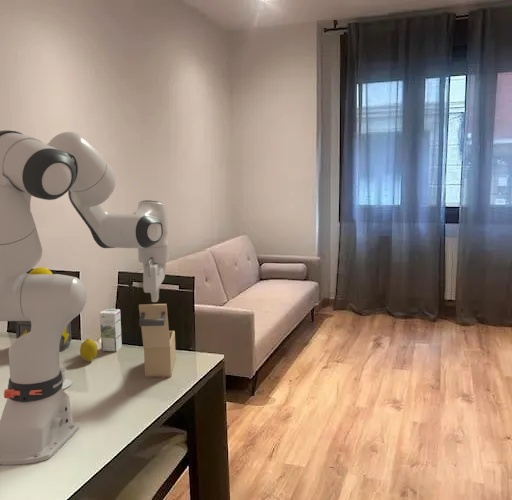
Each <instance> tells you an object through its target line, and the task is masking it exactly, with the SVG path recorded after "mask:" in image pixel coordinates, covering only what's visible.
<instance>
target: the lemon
mask: <svg viewBox="0 0 512 500" xmlns="http://www.w3.org/2000/svg"><path fill="white" fill-rule="evenodd" d="M79 349H80V350H79V352H80V356H81V358H82V359H83V360H85V361H87V362H91V361H92V360H94V359H95V358H96V357H97V355H98V345H97V343H96V342H95V341H94V340H93V339H90V338H86V339H85V340H83V342H82V343H81V344H80V347H79Z"/></svg>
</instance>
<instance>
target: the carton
mask: <svg viewBox="0 0 512 500" xmlns="http://www.w3.org/2000/svg"><path fill="white" fill-rule="evenodd" d="M169 339H170V348H144V347H143V355H144V359H143V361H144V363H143V364H144V379H152V378H154V379H155V378H172V375H173V372H174V371H173V370H174V367H175V363H176V332H175V330H169Z"/></svg>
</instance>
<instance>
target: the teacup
mask: <svg viewBox="0 0 512 500" xmlns="http://www.w3.org/2000/svg"><path fill="white" fill-rule="evenodd" d="M60 371H61V372H62V377H63V381H62V382H63V386H62V389H63V390H65V389H67V388H70V386H71V385H72V381H71V380H70V379H67V378H66V377H67V369H66V368H65V367H61V366H60Z"/></svg>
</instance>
